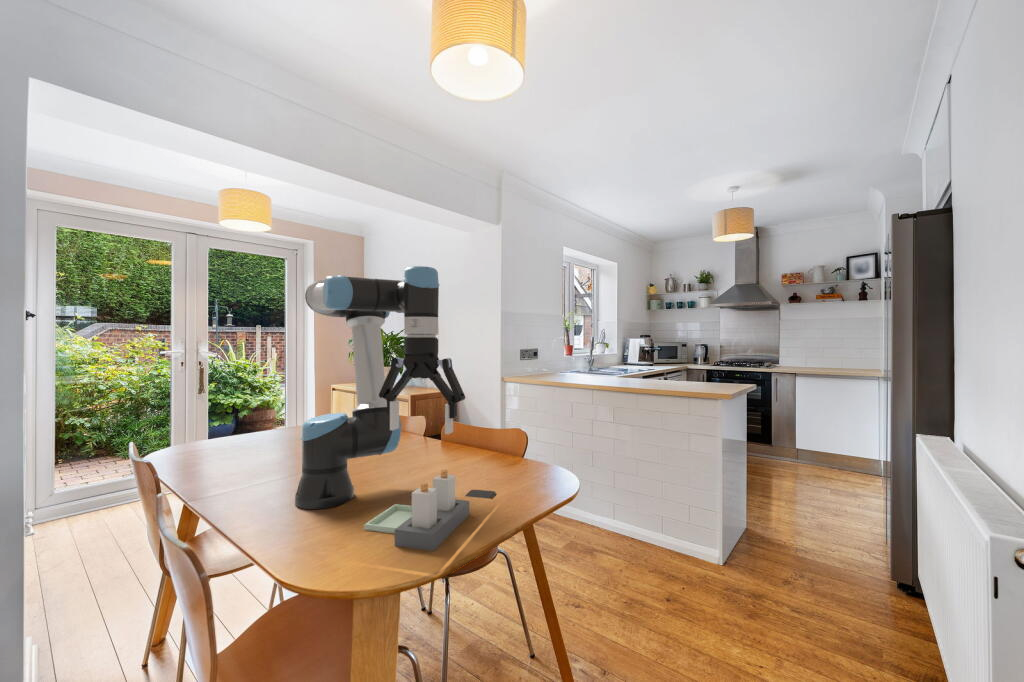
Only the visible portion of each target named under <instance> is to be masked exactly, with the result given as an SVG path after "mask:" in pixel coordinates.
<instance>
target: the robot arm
mask: <svg viewBox="0 0 1024 682" xmlns="http://www.w3.org/2000/svg"><path fill="white" fill-rule="evenodd" d="M439 287H440V283H439V272H438V270H437V269H436V268H434V267H432V266H422V265H417V266H416V265H415V266H408V267H406V268H405V269H404V274H403V280H396V279H383V278H370V277H369V278H366V277H358V276H357V277H356V276H346V275H328V276H326V277H325V278H324V279H319V280H316V281H314V282H312V283H311V284H310V285H309V286H307V289H306V291H305V294H304V297H305V299H304V300H305V303H306V304H307V306H308V307H309V308H310V309H311V310H312V311H313V312H315V313H317V314H320V315H322V316H326V317H331V318H345V325H347V326H348V327H349V328H350V329H351V334H352V349H353V363H354V379H355V391H356V406H355V407H354V409H353V410H352V411H351V412H352V413H351V414H352V417H351V416H348V414H347V413H345V412H335V413H334V412H333V413H327V414H326V413H325V414H322V415H318V416H315V417H311V418H309V419H307V420H306V421H305V422H304V423H303V424H302V429H301V430H302V431H301V437H300V440H301V466H302V467H301V476H300V479H299V483H298V485H297V490H296V492H295V496H294V504H295V506H296V507H297V508H300V509H303V510H304V509H305V510H320V509H321V510H322V509H327V508H328V509H329V508H334V507H338V506H341V505H344V504H346V503H348V502H350V501H351V500H353V498H354V497H355V488H354V485H353V483H352V479H351V476H350V474H349V470H348V459H349V460H350V459H357V458H363V457H364V458H365V457H370V456H378V455H379V456H380V455H383V454H388V453H392V452H394V451H395V450H396V449H397V447H398V446H399V444H400V441H401V440H400V439H401V435H402V420H401V416H400V399H398V396H399V395H400V393H402V391H403V390H404V389H405V388H406V386H407V385H408V384H409V382H410V381H411V380H412V379H429V380H430V381H432V383H433V384H434V385H435V386H436V388H437V389H438V391H439V392H440V393H441V394H442V396H443V397H444V399H445V400H446V402H447V403H445V404H444V435H450V434H452V433H454V419H456V418H457V416H458V403H459V402H461V401H465V399H466V395H465V393H464V391H463V389H462V386H461V383H460V382H459V379H458V377H457V375H456V373H455V370H454V369H453V362H452V361H453V360H452V359H451V357H450V358H449V357H448V358H442V359H440V358H439V339H438V337H436V336H438V335H439V332H440V331H439V295H440V294H439V293H440V292H439V289H440V288H439ZM391 312H392V313H393V312H395V313H396V314H397V313H399V314H401V313H403V317H404V319H403V320H404V322H403V323H404V327H403V328H404V329H403V330H404V333H403V334H404V335H405V336H406V337H405V338H403V340H404V341H403V343H404V344H403V351H404V352H403V353H404V358H401V357H400V356H399V357H398V356H397V357H392V359H391V364H390V369H389V371H388V373H387V375H386V376H385V366H384V365H385V364H384V353H383V343H382V342H383V341H382V330H381V327H382V326H383V325H384V324H385V323H386V319H387V318H389V316H390V314H391ZM403 366H404V368H405V370H404V371H403V373H402V375H401V377H400V378H399V380H398V381H397V382H396V380H397V378H398V376H399V374H400V372H401V369H402V368H403ZM439 367H440V368H441V369H442V371H443V373H444V376H445V378H446V380H447V382H448V384H447V383H446V382H445V380H444V379H443V377H442V375H441V373H440V372H439V371H438V368H439Z"/></svg>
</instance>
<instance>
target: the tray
mask: <svg viewBox="0 0 1024 682" xmlns="http://www.w3.org/2000/svg"><path fill="white" fill-rule="evenodd" d="M410 517H412V505H408V504H398V503H395V504H393V505H392V506H390V507H389V508H387V509H386V510H384V511H382V512H380V513H379V514H378V515H376V516H375V517H373V518H372V519H370V520H369V521H367V522H366V523H364V524H363V525H364V530H365V531H372V532H380V533H389V534H394V535H395V529H396V528H397V527H399V526H400V525H401V524H403V523H404V522H405V521H406V520H408V519H409V518H410Z"/></svg>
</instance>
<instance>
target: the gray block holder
mask: <svg viewBox="0 0 1024 682" xmlns="http://www.w3.org/2000/svg"><path fill="white" fill-rule="evenodd" d="M432 488H435V489H437V524H436V525H435V526H434V527H432V528H431V529H426V528H418V527H412V517H410V518H409V519H408V520H406V521H405V522H404V523H403V524H401V525H400V526H399V527H397V528H396V529H395V534H394V547H400V548H401V547H402V548H408V549H415V550H423V551H428V552H429V551H431V552H434V551H435V550H436V549H437V548H438V547H439V546H440V545H442V544H443V542H444V541H446V539H447V538H448V537H449V536H450V535H451V534H452V533H453V532H454V531H455V530H456V529H457V528H458V527H459V526H460V525H461V524H462V523H463V522H464V521H465V520H466V519H467V518H468V517H469V516H470V500H465V499H457V498H456V475H453V474H448V470H447V469H441V470H440V474H438V475H437V476H435V477H434V478H432Z"/></svg>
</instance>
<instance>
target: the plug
mask: <svg viewBox="0 0 1024 682" xmlns="http://www.w3.org/2000/svg"><path fill="white" fill-rule="evenodd" d="M411 506H412V527H418V528H426V529H431V528H432V527H434V526H435V525H436V524H437V489H435V488H433V487H429V483H428V482H421V483H420V487H419V488H417V489H415V490H414V491H413V492H411Z"/></svg>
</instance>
